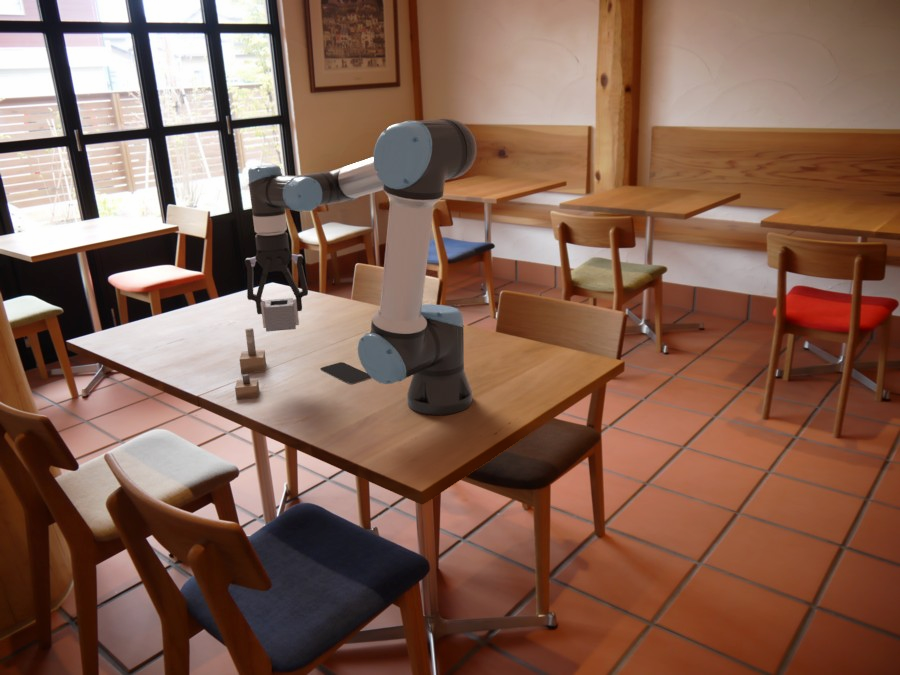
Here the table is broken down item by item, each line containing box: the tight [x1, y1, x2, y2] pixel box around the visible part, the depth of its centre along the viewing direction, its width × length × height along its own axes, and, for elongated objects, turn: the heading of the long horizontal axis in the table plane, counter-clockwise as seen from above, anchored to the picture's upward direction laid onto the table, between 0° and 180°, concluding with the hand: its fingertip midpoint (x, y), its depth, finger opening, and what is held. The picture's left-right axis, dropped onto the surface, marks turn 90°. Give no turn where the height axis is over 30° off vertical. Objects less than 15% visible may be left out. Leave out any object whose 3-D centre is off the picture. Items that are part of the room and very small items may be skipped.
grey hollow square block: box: [263, 297, 297, 332], centre depth 182 cm, size 7×7×6 cm
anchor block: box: [234, 373, 260, 400], centre depth 180 cm, size 5×5×5 cm
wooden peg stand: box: [239, 327, 267, 375], centre depth 196 cm, size 6×6×11 cm
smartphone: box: [320, 361, 372, 385], centre depth 193 cm, size 7×1×15 cm
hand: (281, 324), depth 183 cm, fingers closed on grey hollow square block, 7 cm apart
